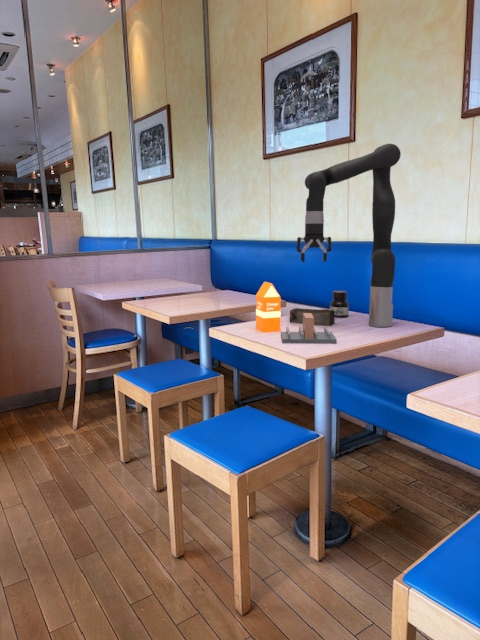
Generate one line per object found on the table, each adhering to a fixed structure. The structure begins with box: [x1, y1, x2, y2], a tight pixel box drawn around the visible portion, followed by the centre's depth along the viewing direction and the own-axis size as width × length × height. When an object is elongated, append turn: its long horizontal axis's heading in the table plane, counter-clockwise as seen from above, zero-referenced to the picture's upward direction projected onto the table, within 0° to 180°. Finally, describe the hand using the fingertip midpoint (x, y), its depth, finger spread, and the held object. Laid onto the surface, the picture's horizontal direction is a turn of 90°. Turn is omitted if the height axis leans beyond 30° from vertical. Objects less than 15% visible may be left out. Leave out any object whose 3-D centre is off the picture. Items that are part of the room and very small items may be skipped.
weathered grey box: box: [289, 307, 336, 327], centre depth 216 cm, size 8×19×7 cm, turn 65°
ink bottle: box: [329, 290, 350, 318], centre depth 231 cm, size 10×9×12 cm
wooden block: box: [302, 313, 315, 339], centre depth 183 cm, size 3×10×8 cm, turn 178°
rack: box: [280, 326, 338, 344], centre depth 185 cm, size 20×13×4 cm, turn 88°
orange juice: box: [255, 281, 282, 334], centre depth 200 cm, size 8×9×20 cm
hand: (313, 262), depth 201 cm, fingers open, 8 cm apart
